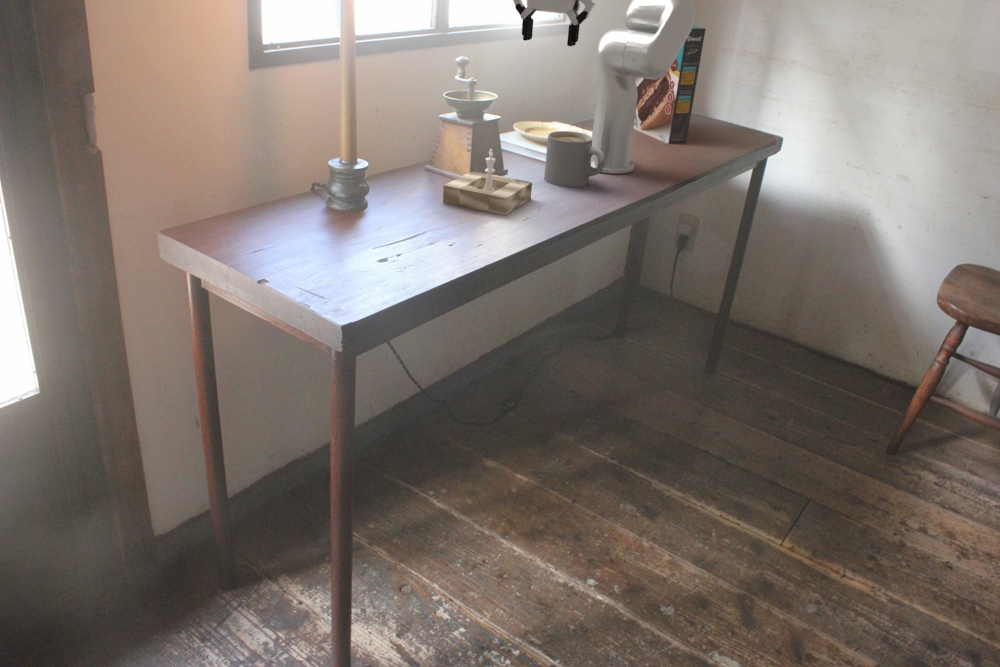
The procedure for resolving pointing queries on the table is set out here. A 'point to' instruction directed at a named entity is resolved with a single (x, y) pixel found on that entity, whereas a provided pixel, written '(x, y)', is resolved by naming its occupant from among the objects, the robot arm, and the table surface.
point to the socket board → (487, 192)
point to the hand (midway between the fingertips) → (549, 42)
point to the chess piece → (489, 171)
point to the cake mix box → (670, 94)
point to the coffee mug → (571, 159)
